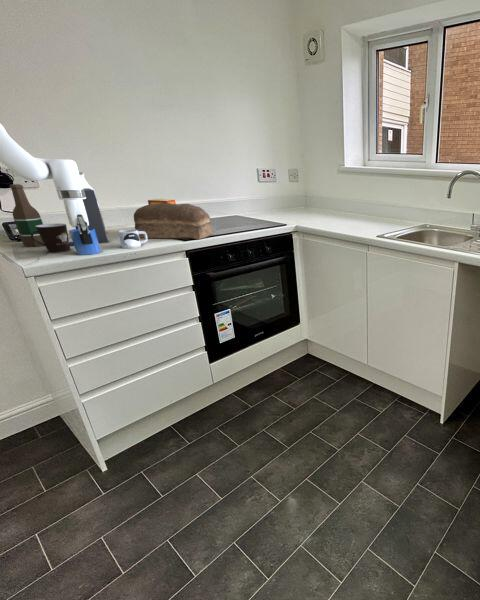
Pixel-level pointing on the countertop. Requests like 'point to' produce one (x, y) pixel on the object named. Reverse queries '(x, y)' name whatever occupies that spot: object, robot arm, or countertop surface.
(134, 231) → the mug
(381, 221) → the countertop surface
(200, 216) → the bread
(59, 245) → the coffee mug
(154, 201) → the baking soda box
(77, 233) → the blue cup
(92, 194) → the dark grey upright panel
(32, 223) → the beer bottle
